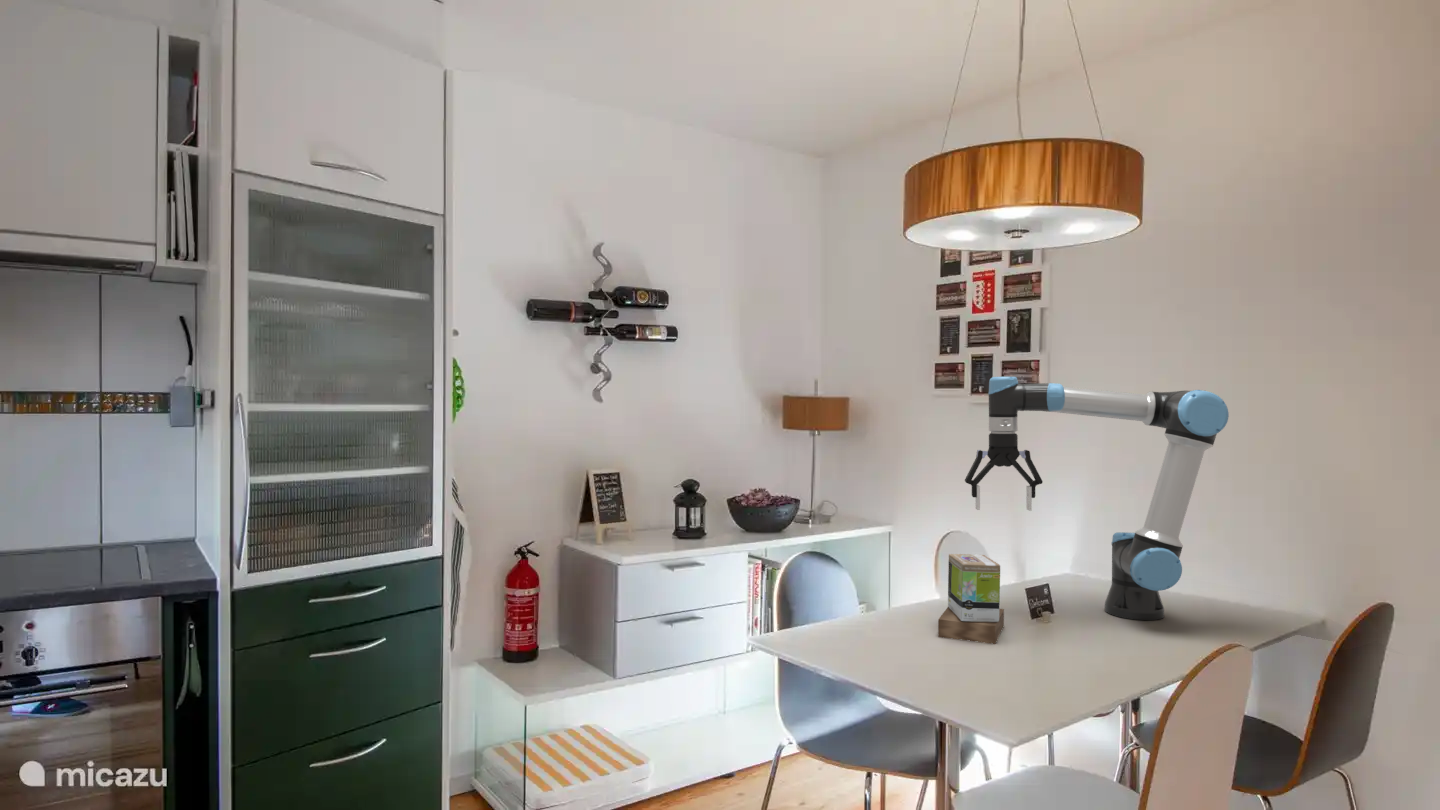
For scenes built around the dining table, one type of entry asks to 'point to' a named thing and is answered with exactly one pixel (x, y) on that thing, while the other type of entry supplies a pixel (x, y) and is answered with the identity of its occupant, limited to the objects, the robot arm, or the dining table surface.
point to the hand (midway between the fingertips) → (1003, 509)
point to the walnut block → (969, 628)
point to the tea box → (974, 587)
